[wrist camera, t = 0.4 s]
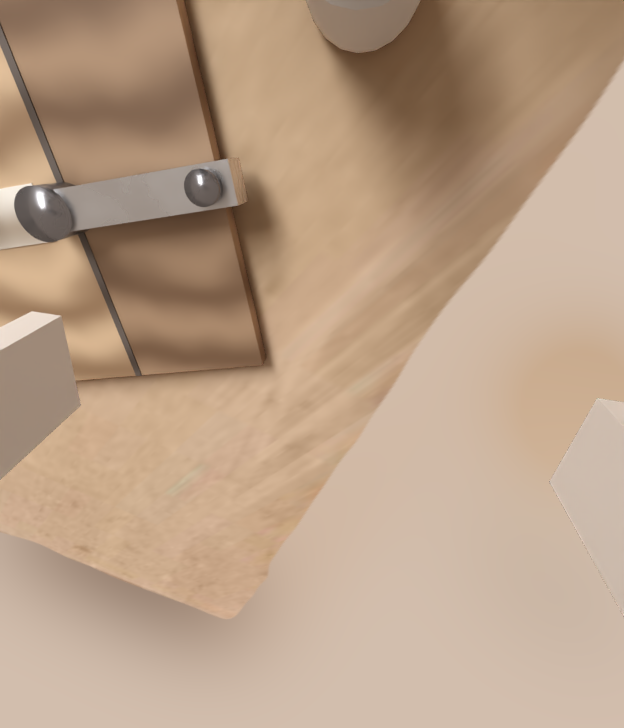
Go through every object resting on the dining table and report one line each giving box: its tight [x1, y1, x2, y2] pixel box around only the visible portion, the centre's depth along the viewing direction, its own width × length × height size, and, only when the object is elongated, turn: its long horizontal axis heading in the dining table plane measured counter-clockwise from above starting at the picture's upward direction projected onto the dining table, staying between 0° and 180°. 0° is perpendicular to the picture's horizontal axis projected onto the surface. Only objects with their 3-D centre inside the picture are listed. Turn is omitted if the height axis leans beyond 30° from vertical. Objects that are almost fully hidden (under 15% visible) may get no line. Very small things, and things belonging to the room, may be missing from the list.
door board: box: [0, 0, 266, 381], centre depth 32 cm, size 32×30×5 cm
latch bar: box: [14, 158, 248, 242], centre depth 30 cm, size 17×4×4 cm, turn 99°
